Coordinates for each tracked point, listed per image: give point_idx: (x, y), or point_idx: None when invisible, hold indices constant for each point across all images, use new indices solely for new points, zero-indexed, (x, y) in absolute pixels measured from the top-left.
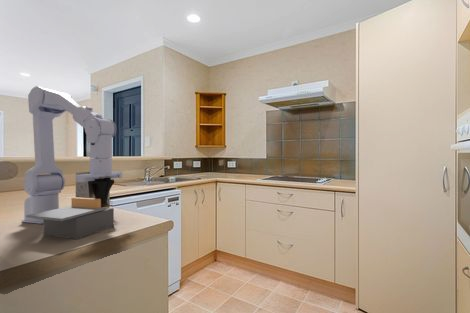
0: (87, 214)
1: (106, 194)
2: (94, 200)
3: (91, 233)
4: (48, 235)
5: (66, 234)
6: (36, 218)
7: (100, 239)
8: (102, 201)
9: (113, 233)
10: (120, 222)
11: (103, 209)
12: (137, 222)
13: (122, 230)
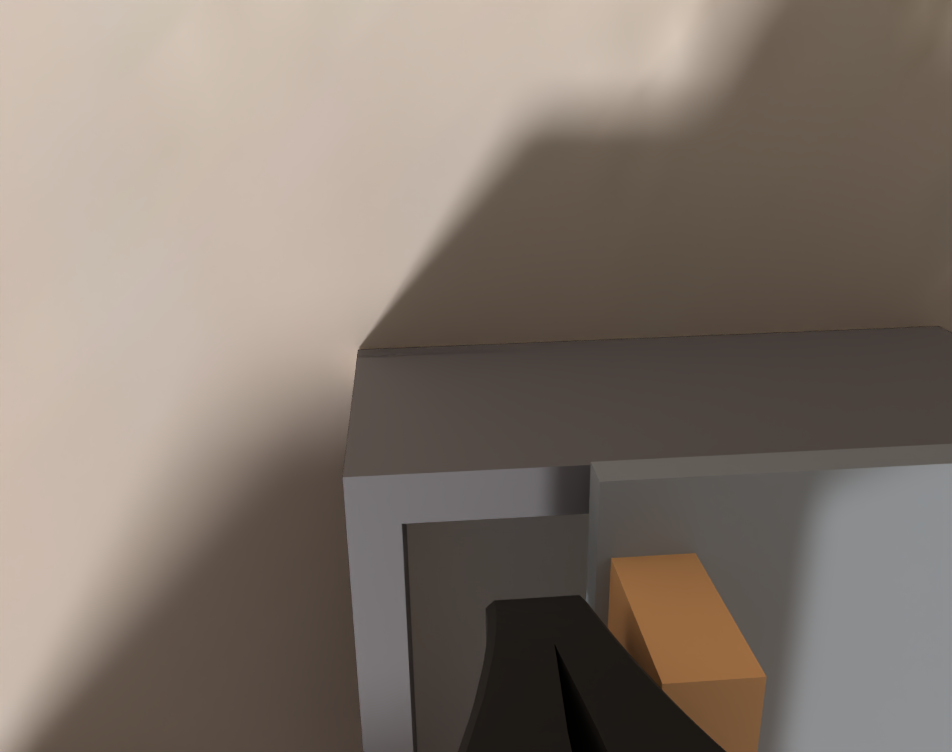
0: None
1: (540, 723)
2: (749, 726)
3: (741, 335)
4: None
5: None
6: None
7: (897, 22)
8: (603, 629)
9: (644, 55)
10: (168, 408)
11: (623, 464)
12: (40, 131)
13: (489, 32)
